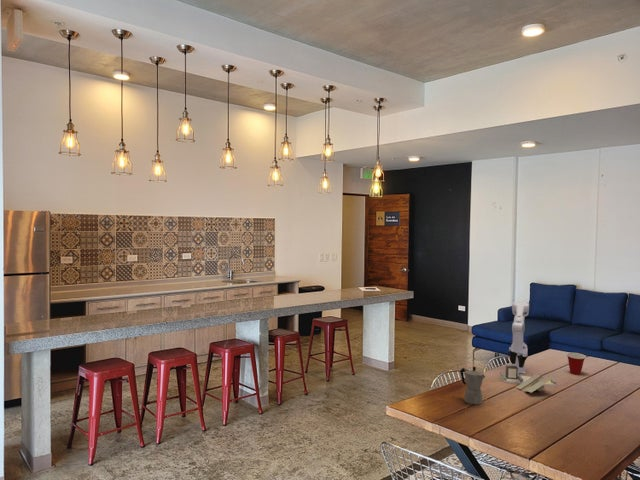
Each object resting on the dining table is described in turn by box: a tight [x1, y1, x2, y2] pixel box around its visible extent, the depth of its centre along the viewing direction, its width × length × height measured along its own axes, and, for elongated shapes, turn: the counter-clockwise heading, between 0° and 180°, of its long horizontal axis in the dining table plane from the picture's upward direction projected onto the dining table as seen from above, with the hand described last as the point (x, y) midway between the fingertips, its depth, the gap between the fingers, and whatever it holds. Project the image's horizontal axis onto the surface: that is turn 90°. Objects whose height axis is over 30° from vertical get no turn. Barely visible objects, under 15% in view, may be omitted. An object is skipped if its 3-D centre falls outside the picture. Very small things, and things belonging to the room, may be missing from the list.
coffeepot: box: [459, 366, 486, 405], centre depth 250 cm, size 15×9×18 cm, turn 33°
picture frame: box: [505, 365, 518, 379], centre depth 287 cm, size 4×6×7 cm, turn 79°
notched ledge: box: [499, 371, 557, 387], centre depth 285 cm, size 12×28×2 cm, turn 79°
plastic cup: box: [566, 352, 587, 376], centre depth 302 cm, size 11×11×12 cm
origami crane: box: [515, 373, 554, 394], centre depth 267 cm, size 16×9×15 cm
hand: (517, 365), depth 284 cm, fingers open, 7 cm apart
